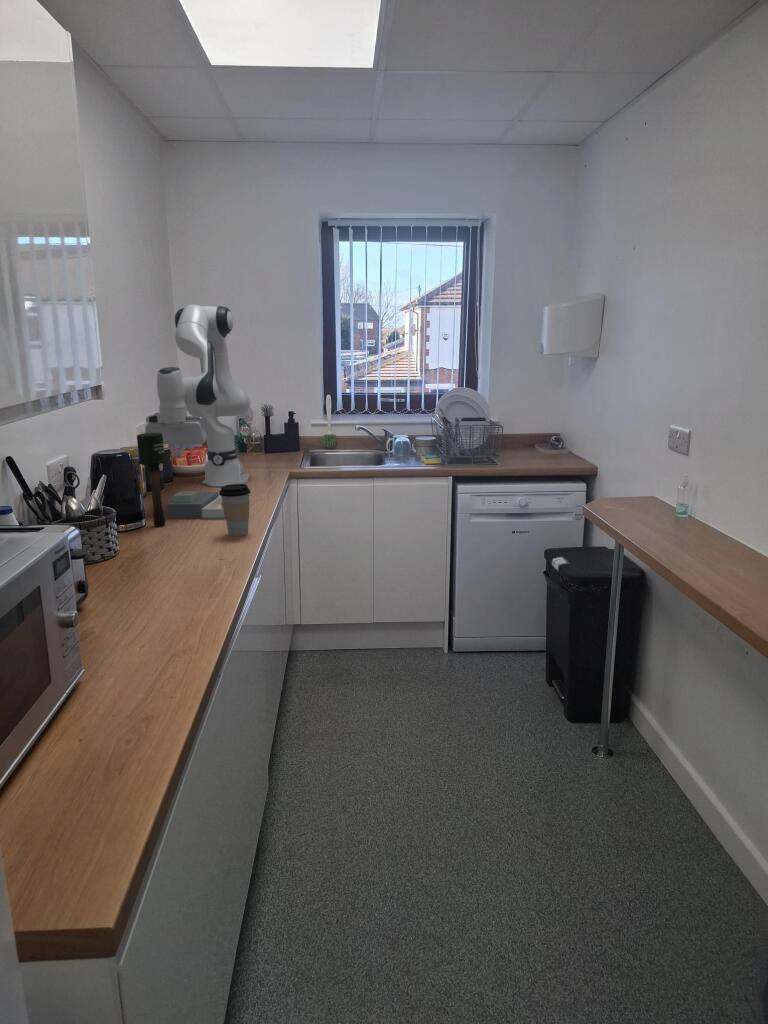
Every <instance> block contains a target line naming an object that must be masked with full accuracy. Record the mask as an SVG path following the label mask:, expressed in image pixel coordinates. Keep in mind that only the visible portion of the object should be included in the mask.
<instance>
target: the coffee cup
mask: <svg viewBox="0 0 768 1024" xmlns="http://www.w3.org/2000/svg"><path fill="white" fill-rule="evenodd" d="M250 494H251V489H250V488H249V487H248V484H246V483H244V484H230V485H225V486H220V490H219V491H218V496H221V497H222V505H223V510H224V515H225V519H224V521H225V523H226V528H227V532H228V536H232V537H242V536H246V535H248V534H249V519H250Z"/></svg>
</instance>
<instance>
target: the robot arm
mask: <svg viewBox="0 0 768 1024" xmlns="http://www.w3.org/2000/svg"><path fill="white" fill-rule="evenodd" d="M174 325H175V329H176V330H175V338H174V339H175V343H176V346H177V347H178V348H179V349H180V351H182V352H183V353H184V354H186V355H187V356H189V357H193V358H197V359H199V365H200V372H201V375H198V376H197V375H196V376H183V373H182V370H181V368H179V367H174V366H173V367H171V366H169V367H163V368H160V369H159V370H158V371H157V374H156V375H157V376H156V389H157V391H156V392H157V397H158V399H159V400H158V401H159V407H158V409H159V410H158V411H159V412H155V413H154V414H152V415H149V416H146V417H145V422H146V425H145V427H144V428H145V429H144V430H145V431H144V433H161V434H162V435H163V444H164V445H167V446H168V447H167V448H168V449H169V450H170V452H171V453H172V458H183V455H184V454H183V451H184V450H185V448H186V445H203V444H204V443H206V442H207V443H206V444H207V450H206V452H207V453H206V455H207V461H206V463H205V464H204V473H205V475H204V477H205V478H204V480H202V484H203V485H207V486H209V487H222V486H225V485H230V484H247V483H248V481H249V479H250V475H249V474H247V473H245V471H244V464H243V463H242V461H240V459H239V458H238V453H239V449H238V448H237V447H236V443H235V440H236V439H235V432H234V430H233V429H232V427H230V426H228V425H226V424H223V423H221V422H220V421H219V418H218V417H234V416H241V415H244V414H247V412H248V410H249V409H250V405H251V404H250V403H251V399H250V397H249V395H248V393H247V391H245V390H244V389H242V388H241V387H240V386H238V384H237V383H236V382H235V381H234V379H233V376H232V374H231V369H230V361H229V353H228V344H227V339H226V337H227V336H228V334H230V333H231V332H232V330H233V327H234V317H233V314H232V312H231V310H230V309H229V308H228V307H226V306H223V305H217V306H214V305H202V306H201V305H200V304H194V303H193V304H188V305H186V306H185V307H182V308H180V309H178V310H177V311H176V312H175V315H174ZM188 414H189V415H190V416H189V415H188ZM175 445H178V448H179V451H176V449H175V448H174V447H175Z"/></svg>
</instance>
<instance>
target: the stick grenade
mask: <svg viewBox="0 0 768 1024" xmlns="http://www.w3.org/2000/svg"><path fill="white" fill-rule="evenodd" d="M136 441H137V450H138V451H137V452H138V465H145V466H146V467H147V470H148V477H149V478H148V479H149V480H148V481H149V483H150V488H151V496H152V497H151V498H152V499H151V500H152V505H153V511H152V515H153V525H154V526H155V527H158V528H159V527H160V528H161V527H164V526H165V525H166V519H165V518H166V517H165V512H164V509H163V502H162V495H161V483H160V481H161V479H160V477H161V476H160V467H159V466H160V465H161V464H164V463H167V461H168V460H167V458H166V454H165V444H163V435H162V434H161V433H145V432H144V433H140V434H137V435H136Z"/></svg>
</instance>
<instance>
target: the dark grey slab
mask: <svg viewBox="0 0 768 1024" xmlns="http://www.w3.org/2000/svg"><path fill="white" fill-rule="evenodd" d="M219 496H220V495H219V491H197V497H198V498H197V499H196V500H195V501H193V502H192V503H174V499H172V500H171V501H169V502H167V503H166V504H165V505H166V513H167V519H202V508H204V507H205V506H206V505H208V504H209V503H211V502H212V501H213V500H215V499H216V498H218V497H219Z"/></svg>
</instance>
